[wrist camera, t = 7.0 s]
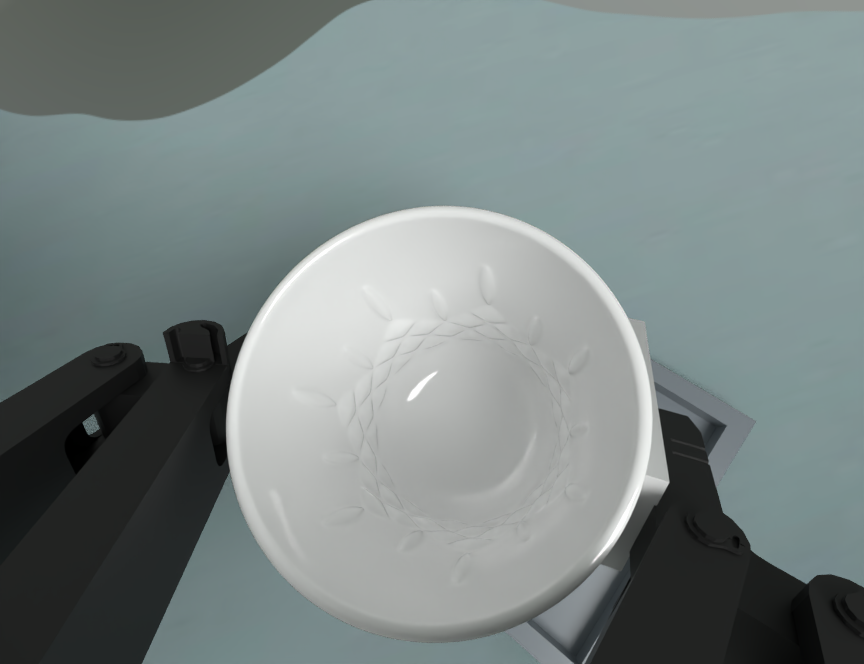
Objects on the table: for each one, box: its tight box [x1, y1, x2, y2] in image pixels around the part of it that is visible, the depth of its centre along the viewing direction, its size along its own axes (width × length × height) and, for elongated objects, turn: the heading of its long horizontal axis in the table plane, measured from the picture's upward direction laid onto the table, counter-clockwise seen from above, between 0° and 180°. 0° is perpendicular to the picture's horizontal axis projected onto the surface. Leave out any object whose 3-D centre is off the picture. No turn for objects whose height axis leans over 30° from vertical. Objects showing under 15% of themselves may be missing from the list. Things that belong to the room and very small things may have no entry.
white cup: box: [226, 206, 653, 643], centre depth 13 cm, size 8×8×10 cm
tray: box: [505, 359, 756, 664], centre depth 25 cm, size 20×16×2 cm
